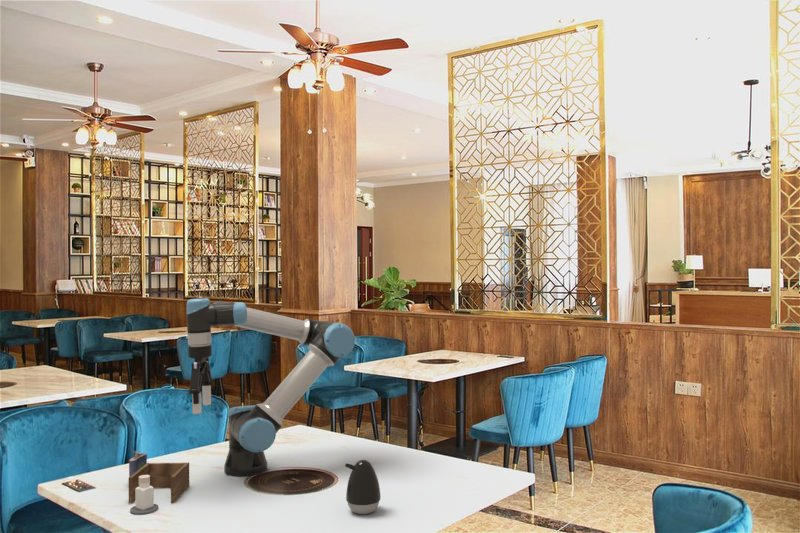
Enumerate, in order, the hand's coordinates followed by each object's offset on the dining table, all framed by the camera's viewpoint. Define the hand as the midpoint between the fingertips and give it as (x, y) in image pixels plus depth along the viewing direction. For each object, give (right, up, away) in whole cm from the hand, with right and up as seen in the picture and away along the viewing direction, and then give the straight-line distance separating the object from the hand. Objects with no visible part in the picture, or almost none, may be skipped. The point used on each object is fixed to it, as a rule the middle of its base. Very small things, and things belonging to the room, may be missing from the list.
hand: (202, 409), depth 226 cm
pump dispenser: (+55, -25, -24) cm, 65 cm away
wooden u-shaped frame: (-12, -26, -7) cm, 29 cm away
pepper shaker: (-11, -26, -21) cm, 35 cm away
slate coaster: (-11, -26, -21) cm, 35 cm away
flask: (-24, -27, +6) cm, 36 cm away
